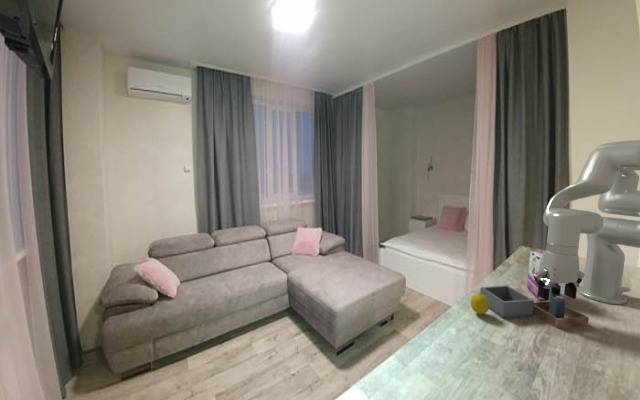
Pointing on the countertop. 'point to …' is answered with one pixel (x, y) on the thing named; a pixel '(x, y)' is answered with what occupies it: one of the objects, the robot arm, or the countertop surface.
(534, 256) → the candy bar box
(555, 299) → the vaping device
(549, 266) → the robot arm
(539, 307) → the brown wooden square frame
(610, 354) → the countertop surface
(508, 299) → the bin
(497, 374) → the countertop surface
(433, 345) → the countertop surface
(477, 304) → the lemon
